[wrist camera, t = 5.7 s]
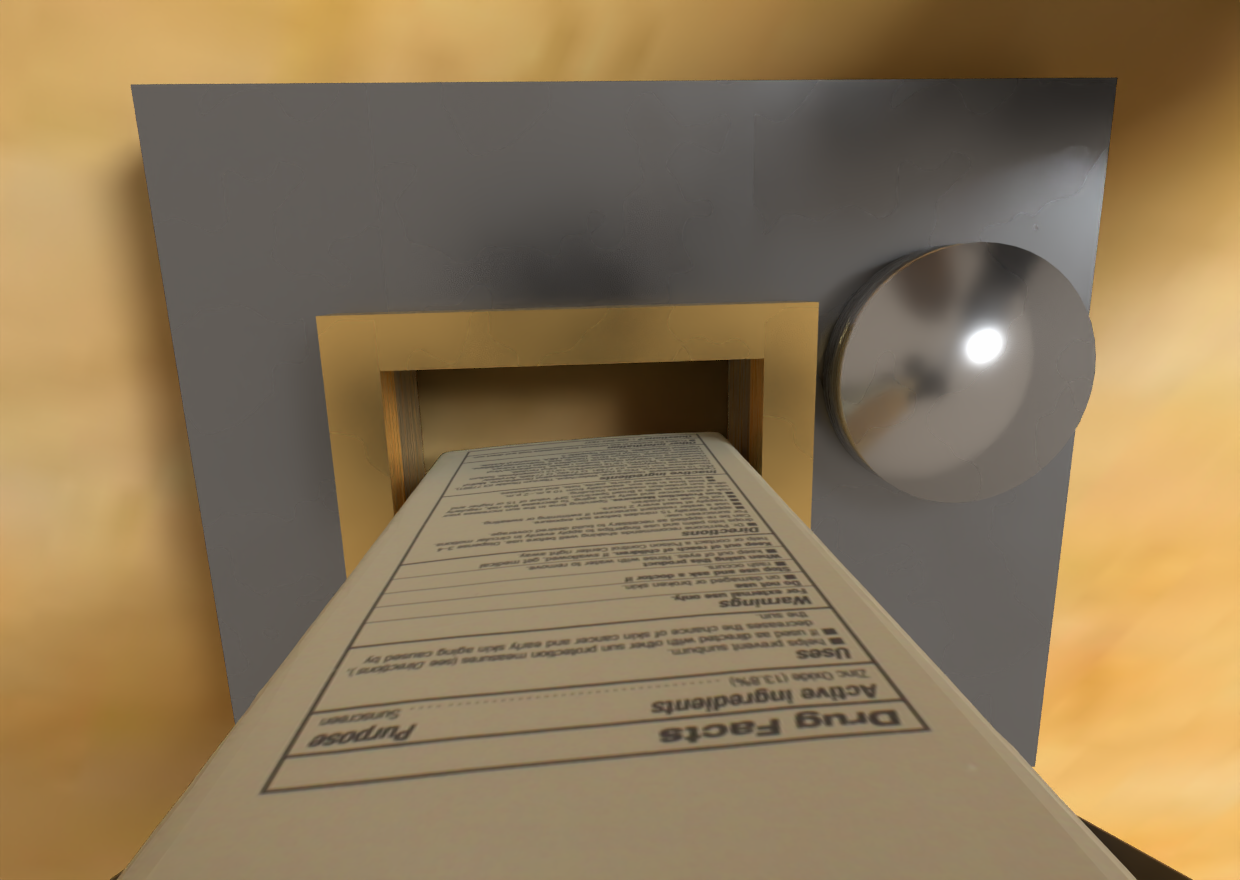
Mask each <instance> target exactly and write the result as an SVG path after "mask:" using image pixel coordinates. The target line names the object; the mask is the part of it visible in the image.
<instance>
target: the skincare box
mask: <svg viewBox="0 0 1240 880" xmlns="http://www.w3.org/2000/svg"><path fill="white" fill-rule="evenodd" d="M117 880H1137V879H1136V878H1135V877H1134V876H1133V875H1132V874H1131V873H1130V872H1129V871H1128V869H1127V868H1126V867H1125V866H1124V865H1123V864H1122V863H1121V862H1120V861H1119V860H1118V859H1117V858H1116V857H1115V856H1114V855H1113V854H1112V853H1111V851H1110V850H1109V849H1108V848H1107V847H1106V846H1105V845H1104V844H1103V843H1102V842H1101V841H1100V840H1099V839H1098V838H1097V837H1096V836H1095V835H1094V834H1093V832H1092V831H1091V830H1090V829H1089V828H1088V827H1087V826H1086V825H1085V824H1084V823H1083V822H1082V821H1081V820H1080V819H1079V818H1078V817H1077V816H1076V815H1075V813H1074V812H1073V811H1072V810H1071V809H1070V808H1069V807H1068V806H1067V805H1066V804H1065V803H1064V802H1063V801H1062V800H1061V799H1060V798H1059V797H1058V796H1057V794H1056V793H1055V792H1054V791H1053V790H1052V789H1051V788H1050V787H1049V786H1048V785H1047V783H1046V782H1045V781H1044V780H1043V779H1042V778H1041V777H1040V776H1039V775H1038V774H1037V772H1036V771H1035V770H1034V769H1033V768H1032V767H1031V766H1030V765H1029V764H1028V762H1027V761H1026V760H1025V759H1024V758H1023V757H1022V756H1021V755H1020V754H1019V752H1018V751H1017V750H1016V749H1015V748H1014V747H1013V746H1012V745H1011V744H1010V743H1009V742H1008V741H1007V740H1006V739H1005V738H1003V737H1002V736H1001V735H1000V734H999V733H998V732H997V731H996V730H995V729H994V728H993V727H992V725H991V724H990V723H989V722H988V721H987V720H986V719H985V718H984V717H983V716H982V714H981V713H980V712H979V711H978V710H977V709H976V708H975V707H974V706H973V705H972V704H971V702H970V701H969V700H968V699H967V698H966V697H965V696H964V695H963V694H962V693H961V691H960V690H959V689H958V688H957V687H956V686H955V685H954V684H953V683H952V682H951V680H950V679H949V678H948V677H947V676H946V675H945V674H944V673H943V672H942V671H941V670H940V669H939V667H938V666H937V665H936V664H935V663H934V662H933V661H932V660H931V659H930V658H929V657H928V656H927V655H926V653H925V652H924V651H923V650H922V649H921V648H920V647H919V646H918V645H917V644H916V643H915V642H914V641H913V640H912V638H911V637H910V636H909V635H908V634H907V633H906V632H905V631H904V630H903V629H902V628H901V627H900V626H899V624H898V623H897V622H896V621H895V620H894V619H893V618H892V617H891V616H890V615H889V614H888V613H887V611H886V610H885V609H884V608H883V607H882V606H881V605H880V604H879V603H878V602H877V601H876V600H875V598H874V597H873V596H872V595H871V594H870V593H869V592H868V591H867V590H866V589H865V588H864V587H863V586H862V585H861V583H860V582H859V581H858V580H857V579H856V578H855V577H854V576H853V575H852V574H851V573H850V572H849V571H848V570H847V569H846V568H845V566H844V565H843V564H842V563H841V562H840V561H839V560H838V559H837V558H836V557H835V556H834V555H833V554H832V552H831V551H830V550H829V549H828V548H827V547H826V546H825V545H824V544H823V543H822V542H821V540H820V539H819V538H818V537H817V536H816V535H815V534H814V533H813V531H812V530H811V529H810V528H809V527H808V526H807V525H806V524H805V523H804V522H803V521H802V520H801V519H800V518H799V517H798V516H797V515H796V514H795V513H794V512H793V511H792V510H791V508H790V507H789V506H788V505H787V504H786V503H785V502H784V501H783V500H782V499H781V498H780V496H779V495H778V494H777V493H776V492H775V491H774V490H773V489H772V488H771V487H770V486H769V484H768V483H767V482H766V481H765V480H764V479H763V478H762V477H761V475H760V474H759V473H758V472H757V471H756V470H755V469H754V468H753V467H752V466H751V465H750V464H749V463H748V462H747V461H746V460H745V459H744V458H743V457H742V456H741V455H740V453H739V452H738V451H737V450H736V449H735V448H734V447H733V446H732V445H731V443H730V442H729V441H728V440H727V439H726V438H725V437H724V436H723V435H722V434H720V433H718V432H690V433H665V434H646V435H628V436H613V437H599V438H587V439H574V440H561V441H549V442H538V443H527V444H516V445H506V446H496V447H487V448H478V449H470V450H461V451H451V452H446V453H444V454H442V455H441V456H440V457H439V458H438V460H437V461H436V462H435V464H434V465H433V466H432V467H431V469H430V470H429V471H428V473H427V474H426V475H425V477H424V478H423V479H422V480H421V482H420V483H419V485H418V486H417V487H416V489H415V490H414V491H413V492H412V494H411V495H410V496H409V498H408V499H407V500H406V502H405V503H404V504H403V506H402V507H401V508H400V510H399V511H398V512H397V513H396V515H395V516H394V517H393V519H392V520H391V521H390V523H389V524H388V525H387V527H386V528H385V529H384V531H383V532H382V533H381V535H380V536H379V537H378V538H377V540H376V541H375V542H374V543H373V545H372V546H371V547H370V549H369V550H368V551H367V553H366V554H365V555H364V557H363V558H362V559H361V561H360V562H359V564H358V565H357V566H356V568H355V569H354V570H353V571H352V573H351V574H350V575H349V577H348V578H347V579H346V581H345V582H344V583H343V585H342V586H341V587H340V589H339V590H338V591H337V592H336V594H335V595H334V596H333V597H332V599H331V600H330V601H329V602H328V604H327V605H326V606H325V608H324V609H323V610H322V612H321V613H320V614H319V616H318V617H317V618H316V620H315V621H314V622H313V623H312V625H311V626H310V627H309V628H308V629H307V631H306V632H305V634H304V635H303V636H302V638H301V639H300V640H299V642H298V643H297V644H296V646H295V647H294V648H293V650H292V651H291V652H290V654H289V655H288V656H287V658H286V659H285V660H284V661H283V663H282V664H281V665H280V667H279V668H278V669H277V671H276V672H275V673H274V674H273V676H272V677H271V678H270V679H269V681H268V682H267V683H266V684H265V686H264V687H263V688H262V689H261V690H260V692H259V693H258V694H257V696H256V697H255V699H254V700H253V702H252V704H251V705H250V707H249V708H248V709H247V711H246V712H245V713H244V714H243V716H242V717H241V718H240V719H239V721H238V722H237V723H236V725H235V726H234V727H233V728H232V730H231V731H230V732H229V734H228V735H227V736H226V737H225V739H224V740H223V741H222V743H221V744H220V745H219V746H218V748H217V749H216V750H215V752H214V753H213V754H212V755H211V757H210V758H209V759H208V761H207V762H206V763H205V765H204V766H203V767H202V769H201V770H200V772H199V773H198V774H197V776H196V777H195V778H194V780H193V781H192V782H191V784H190V785H189V786H188V788H187V789H186V790H185V792H184V793H183V794H182V795H181V797H180V798H179V799H178V801H177V802H176V803H175V804H174V806H173V807H172V808H171V809H170V811H169V812H168V813H167V815H166V816H165V817H164V818H163V820H162V821H161V822H160V823H159V825H158V826H157V827H156V829H155V830H154V831H153V833H152V834H151V835H150V837H149V838H148V839H147V841H146V842H145V843H144V844H143V846H142V847H141V848H140V850H139V851H138V852H137V854H136V855H135V856H134V858H133V859H132V860H131V862H130V863H129V864H128V866H127V867H126V868H125V870H124V871H123V872H122V873H121V875H120V876H119V877H118V879H117Z"/></svg>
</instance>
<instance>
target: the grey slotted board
mask: <svg viewBox="0 0 1240 880" xmlns="http://www.w3.org/2000/svg"><path fill="white" fill-rule="evenodd" d="M1116 85H1117V78H1000V79H858V80H716V81H574V82H432V83H290V84H148V85H131V90H132V96H133V102H134V108H135V115H136V121H137V127H138V133H139V139H140V145H141V151H142V157H143V164H144V170H145V176H146V182H147V188H148V194H149V200H150V206H151V213H152V219H153V225H154V231H155V237H156V243H157V249H158V255H159V262H160V268H161V274H162V280H163V286H164V292H165V298H166V304H167V311H168V317H169V323H170V329H171V335H172V341H173V347H174V353H175V359H176V366H177V372H178V378H179V384H180V390H181V396H182V402H183V408H184V415H185V421H186V427H187V433H188V439H189V445H190V451H191V457H192V464H193V470H194V476H195V482H196V488H197V494H198V500H199V506H200V513H201V519H202V525H203V531H204V537H205V543H206V549H207V555H208V562H209V568H210V574H211V580H212V586H213V592H214V598H215V604H216V611H217V617H218V623H219V629H220V635H221V641H222V647H223V653H224V659H225V666H226V672H227V678H228V684H229V690H230V696H231V702H232V708H233V715H234V721H235V725H236V723H237V722H238V721H239V719H240V718H241V717H242V716H243V714H244V713H245V712H246V711H247V709H248V708H249V707H250V705H251V704H252V702H253V700H254V699H255V697H256V696H257V694H258V693H259V692H260V690H261V689H262V688H263V687H264V686H265V684H266V683H267V682H268V681H269V679H270V678H271V677H272V676H273V674H274V673H275V672H276V671H277V669H278V668H279V667H280V665H281V664H282V663H283V661H284V660H285V659H286V658H287V656H288V655H289V654H290V652H291V651H292V650H293V648H294V647H295V646H296V644H297V643H298V642H299V640H300V639H301V638H302V636H303V635H304V634H305V632H306V631H307V629H308V628H309V627H310V626H311V625H312V623H313V622H314V621H315V620H316V618H317V617H318V616H319V614H320V613H321V612H322V610H323V609H324V608H325V606H326V605H327V604H328V602H329V601H330V600H331V599H332V597H333V596H334V595H335V594H336V592H337V591H338V590H339V589H340V587H341V586H342V585H343V583H344V582H345V581H346V579H347V578H348V577H349V575H350V574H351V573H352V571H353V570H354V569H355V568H356V566H357V565H358V564H359V562H360V561H361V559H362V558H363V557H364V555H365V554H366V553H367V551H368V550H369V549H370V547H371V546H372V545H373V543H374V542H375V541H376V540H377V538H378V537H379V536H380V535H381V533H382V532H383V531H384V529H385V528H386V527H387V525H388V524H389V523H390V521H391V520H392V519H393V517H394V516H395V515H396V513H397V512H398V511H399V510H400V508H401V507H402V506H403V504H404V503H405V502H406V500H407V499H408V498H409V496H410V495H411V494H412V492H413V491H414V490H415V489H416V487H417V486H418V485H419V483H420V482H421V480H422V479H423V478H424V477H425V467H424V455H423V444H422V433H421V422H420V410H419V399H418V388H417V376H416V370H431V369H461V368H491V367H521V366H551V365H581V364H611V363H641V362H671V361H701V360H728V441H729V442H730V443H731V445H732V446H733V447H734V448H735V449H736V450H737V451H738V452H739V453H740V455H741V456H742V457H743V458H744V459H745V460H746V461H747V462H748V463H749V464H750V465H751V466H752V467H753V468H754V469H755V470H756V471H757V472H758V473H759V474H760V475H761V477H762V478H763V479H764V480H765V481H766V482H767V483H768V484H769V486H770V487H771V488H772V489H773V490H774V491H775V492H776V493H777V494H778V495H779V496H780V498H781V499H782V500H783V501H784V502H785V503H786V504H787V505H788V506H789V507H790V508H791V510H792V511H793V512H794V513H795V514H796V515H797V516H798V517H799V518H800V519H801V520H802V521H803V522H804V523H805V524H806V525H807V526H808V527H809V528H810V529H811V530H812V531H813V533H814V534H815V535H816V536H817V537H818V538H819V539H820V540H821V542H822V543H823V544H824V545H825V546H826V547H827V548H828V549H829V550H830V551H831V552H832V554H833V555H834V556H835V557H836V558H837V559H838V560H839V561H840V562H841V563H842V564H843V565H844V566H845V568H846V569H847V570H848V571H849V572H850V573H851V574H852V575H853V576H854V577H855V578H856V579H857V580H858V581H859V582H860V583H861V585H862V586H863V587H864V588H865V589H866V590H867V591H868V592H869V593H870V594H871V595H872V596H873V597H874V598H875V600H876V601H877V602H878V603H879V604H880V605H881V606H882V607H883V608H884V609H885V610H886V611H887V613H888V614H889V615H890V616H891V617H892V618H893V619H894V620H895V621H896V622H897V623H898V624H899V626H900V627H901V628H902V629H903V630H904V631H905V632H906V633H907V634H908V635H909V636H910V637H911V638H912V640H913V641H914V642H915V643H916V644H917V645H918V646H919V647H920V648H921V649H922V650H923V651H924V652H925V653H926V655H927V656H928V657H929V658H930V659H931V660H932V661H933V662H934V663H935V664H936V665H937V666H938V667H939V669H940V670H941V671H942V672H943V673H944V674H945V675H946V676H947V677H948V678H949V679H950V680H951V682H952V683H953V684H954V685H955V686H956V687H957V688H958V689H959V690H960V691H961V693H962V694H963V695H964V696H965V697H966V698H967V699H968V700H969V701H970V702H971V704H972V705H973V706H974V707H975V708H976V709H977V710H978V711H979V712H980V713H981V714H982V716H983V717H984V718H985V719H986V720H987V721H988V722H989V723H990V724H991V725H992V727H993V728H994V729H995V730H996V731H997V732H998V733H999V734H1000V735H1001V736H1002V737H1003V738H1005V739H1006V740H1007V741H1008V742H1009V743H1010V744H1011V745H1012V746H1013V747H1014V748H1015V749H1016V750H1017V751H1018V752H1019V754H1020V755H1021V756H1022V757H1023V758H1024V759H1025V760H1026V761H1027V762H1028V764H1029V765H1030V766H1031V767H1034V766H1035V761H1036V753H1037V745H1038V736H1039V728H1040V720H1041V711H1042V703H1043V695H1044V686H1045V678H1046V669H1047V661H1048V653H1049V644H1050V636H1051V628H1052V619H1053V611H1054V603H1055V594H1056V586H1057V578H1058V569H1059V561H1060V553H1061V544H1062V536H1063V528H1064V519H1065V511H1066V503H1067V494H1068V486H1069V477H1070V469H1071V461H1072V452H1073V444H1074V436H1075V429H1076V427H1077V426H1078V424H1079V422H1080V420H1081V418H1082V415H1083V413H1084V411H1085V409H1086V406H1087V403H1088V400H1089V397H1090V394H1091V390H1092V385H1093V380H1094V374H1095V360H1096V353H1095V339H1094V334H1093V329H1092V324H1091V321H1090V318H1089V310H1090V302H1091V294H1092V285H1093V277H1094V269H1095V260H1096V252H1097V244H1098V235H1099V227H1100V219H1101V210H1102V202H1103V194H1104V185H1105V177H1106V169H1107V160H1108V152H1109V144H1110V135H1111V127H1112V118H1113V110H1114V102H1115V93H1116Z"/></svg>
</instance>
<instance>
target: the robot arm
mask: <svg viewBox="0 0 1240 880" xmlns="http://www.w3.org/2000/svg"><path fill="white" fill-rule="evenodd" d="M1076 816H1077V815H1076ZM1077 817H1078V818H1079V819H1080V820H1081V821H1082V822H1083V823H1084V824H1085V825H1086V826H1087V827H1088V828H1089V829H1090V830H1091V831H1092V832H1093V834H1094V835H1095V836H1096V837H1097V838H1098V839H1099V840H1100V841H1101V842H1102V843H1103V844H1104V845H1105V846H1106V847H1107V848H1108V849H1109V850H1110V851H1111V853H1112V854H1113V855H1114V856H1115V857H1116V858H1117V859H1118V860H1119V861H1120V862H1121V863H1122V864H1123V865H1124V866H1125V867H1126V868H1127V869H1128V871H1129V872H1130V873H1131V874H1132V875H1133V876H1134V877H1135V878H1136V879H1137V880H1192V879H1191V878H1189V877H1187V876H1185V875H1183V874H1182V873H1180V872H1178V871H1176V870H1174V869H1173V868H1171V867H1169V866H1167V865H1165V864H1164V863H1162V862H1160V861H1158V860H1156V859H1155V858H1153V857H1151V856H1149V855H1147V854H1146V853H1144V852H1142V851H1140V850H1138V849H1137V848H1135V847H1133V846H1131V845H1129V844H1128V843H1126V842H1124V841H1122V840H1120V839H1119V838H1117V837H1115V836H1113V835H1111V834H1109V833H1108V832H1106V831H1104V830H1102V829H1100V828H1099V827H1097V826H1095V825H1093V824H1091V823H1090V822H1088V821H1086V820H1084V819H1082V818H1081V817H1079V816H1077ZM124 870H125V869H124ZM124 870H123V871H124ZM123 871H121V872H120V873H118V874H117V875H116V876H114V877H113V878H111V879H110V880H117V879H118V877H119V876H120V875H121V873H122V872H123Z"/></svg>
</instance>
